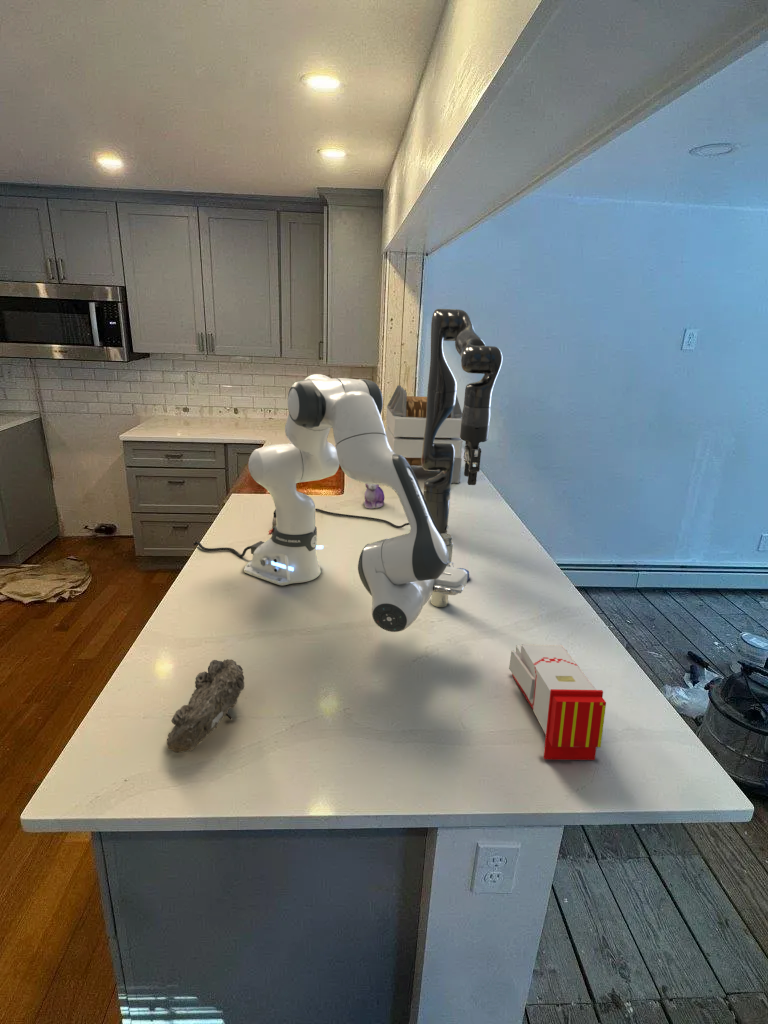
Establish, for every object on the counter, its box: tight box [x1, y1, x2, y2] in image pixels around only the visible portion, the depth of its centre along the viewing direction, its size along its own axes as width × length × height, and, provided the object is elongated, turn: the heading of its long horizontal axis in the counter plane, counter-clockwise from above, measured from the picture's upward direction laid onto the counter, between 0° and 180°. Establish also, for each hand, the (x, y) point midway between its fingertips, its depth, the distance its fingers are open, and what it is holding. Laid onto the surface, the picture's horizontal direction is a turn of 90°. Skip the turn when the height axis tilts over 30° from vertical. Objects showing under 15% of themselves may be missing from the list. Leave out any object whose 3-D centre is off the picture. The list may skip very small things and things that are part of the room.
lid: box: [457, 567, 470, 582], centre depth 168 cm, size 5×5×2 cm
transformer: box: [385, 384, 464, 484], centre depth 268 cm, size 34×33×41 cm
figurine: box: [363, 483, 385, 509], centre depth 225 cm, size 9×10×15 cm
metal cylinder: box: [430, 533, 454, 608], centre depth 151 cm, size 4×4×20 cm
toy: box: [508, 643, 607, 761], centre depth 112 cm, size 12×13×30 cm
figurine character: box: [271, 509, 276, 528], centre depth 200 cm, size 7×8×15 cm
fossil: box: [166, 658, 245, 754], centre depth 106 cm, size 22×10×15 cm
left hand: (431, 560), depth 137 cm, fingers open, 8 cm apart
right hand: (469, 480), depth 158 cm, fingers open, 8 cm apart
